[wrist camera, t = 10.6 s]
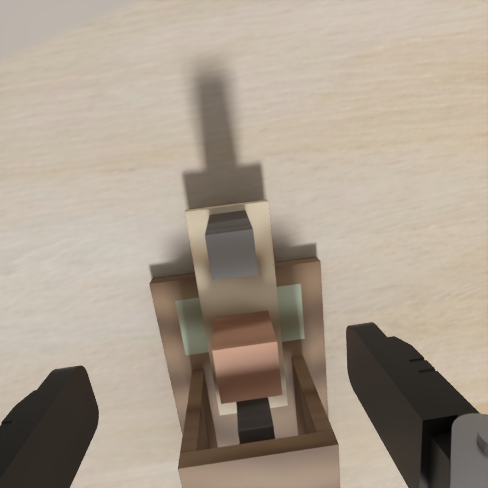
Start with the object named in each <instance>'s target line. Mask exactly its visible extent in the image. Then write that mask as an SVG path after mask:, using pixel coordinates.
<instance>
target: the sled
mask: <svg viewBox="0 0 488 488" xmlns="http://www.w3.org/2000/svg"><path fill="white" fill-rule="evenodd" d="M185 218H186V223H187V229H188V235H189V241H190V246H191V252H192V258H193V264H194V270H195V275H196V281H197V287H198V293H199V299H200V304H201V310H202V316H203V322H204V328H205V333H206V339H207V345H208V351H209V357H210V362H211V368H212V374H213V380H214V385H215V391H216V397H217V403H218V409H219V414H220V416H221V415H228V414H235V413H237V423H238V435H239V441H240V444H245V443H251V442H258V441H264V440H271V439H275V435H274V426H273V421H272V415H271V410H270V408H275V407H282V406H288V401H287V391H286V380H285V370H284V359H283V349H282V338H281V328H280V317H279V307H278V296H277V286H276V275H275V265H274V254H273V244H272V234H271V223H270V213H269V202H268V200H260V201H252V202H244V203H236V204H229V205H221V206H213V207H205V208H197V209H189V210H186V211H185Z"/></svg>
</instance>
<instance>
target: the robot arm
mask: <svg viewBox="0 0 488 488" xmlns="http://www.w3.org/2000/svg"><path fill="white" fill-rule="evenodd" d="M346 341H347V368H348V375H349V379H350V382H351V385H352V388H353V390H354V392H355V394H356V395H357V397H358V399H359V401H360V402H361V404H362V406H363V408H364V410H365V411H366V413H367V415H368V417H369V418H370V420H371V422H372V424H373V425H374V427H375V429H376V431H377V433H378V434H379V436H380V438H381V440H382V441H383V443H384V445H385V447H386V448H387V450H388V452H389V454H390V456H391V457H392V459H393V461H394V463H395V464H396V466H397V468H398V470H399V472H400V473H401V475H402V477H403V479H404V480H405V482H406V484H407V486H408V487H409V488H488V415H486V414H480V413H479V412H478V411H477V410H476V409H475V408H474V407H473V406H472V405H471V404H470V403H469V402H468V401H467V400H466V399H465V398H464V397H463V396H462V395H461V394H460V393H459V392H458V391H457V390H456V389H455V388H454V387H453V386H452V385H451V384H450V383H449V382H448V381H447V380H446V379H445V378H444V377H443V376H442V375H441V374H440V373H439V372H438V371H435V368H434V367H433V366H432V365H431V364H430V363H429V362H428V361H427V360H424V357H423V356H422V355H421V354H420V353H419V352H418V351H417V350H416V349H415V348H414V347H413V346H412V345H410V344H408V343H406V342H404V341H402V340H401V339H399V338H397V337H395V336H393V337H387V336H386V335H385V334H384V333H383V332H382V331H381V330H380V329H379V328H378V327H377V325H376V324H374V323H373V322H370V323H364V324H357V325H351V326H348V327H347V329H346ZM98 419H99V410H98V405H97V402H96V399H95V396H94V393H93V390H92V386H91V383H90V380H89V377H88V374H87V371H86V369H85V368H84V367H83V366H74V367H68V368H61V369H55V370H53V371H52V372H51V373H50V374H49V375H48V376H47V378H46V379H45V380H44V382H43V383H42V384H41V385H40V387H39V388H38V389H37V390H35V391H33V392H32V393H30V394H29V395H28V396H27V397H25V398H24V399H23V400H22V401H21V402H19V403H18V404H17V405H16V406H15V407H14V408H13V409H12V410H11V411H10V413H9V414H8V415H7V416H6V418H5V419H4V420H3V421H2V422H1V423H2V424H1V426H0V488H70V486H71V484H72V482H73V480H74V477H75V475H76V473H77V471H78V469H79V466H80V464H81V462H82V460H83V458H84V455H85V453H86V451H87V449H88V447H89V444H90V442H91V440H92V438H93V436H94V433H95V431H96V429H97V425H98Z"/></svg>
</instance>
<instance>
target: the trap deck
mask: <svg viewBox="0 0 488 488" xmlns="http://www.w3.org/2000/svg"><path fill="white" fill-rule="evenodd" d="M274 265H275V275H276V286H277V296H278V307H279V317H280V328H281V338H282V349H283V359H284V370H285V380H286V391H287V401H288V406H282V407H275V408H270V410H271V415H272V421H273V426H274V435H275V439H271V440H264V441H258V442H251V443H245V444H240V441H239V435H238V423H237V413H235V414H228V415H221V416H220V414H219V409H218V403H217V397H216V391H215V385H214V380H213V374H212V368H211V362H210V357H209V351H208V345H207V339H206V333H205V328H204V322H203V316H202V310H201V304H200V299H199V293H198V287H197V281H196V275H195V273H194V274H186V275H179V276H171V277H164V278H156V279H152V280H151V282H150V289H151V293H152V298H153V302H154V307H155V311H156V316H157V321H158V325H159V330H160V334H161V339H162V343H163V348H164V353H165V357H166V362H167V366H168V371H169V375H170V380H171V385H172V389H173V394H174V398H175V403H176V407H177V412H178V417H179V421H180V426H181V430H182V435H183V437H182V444H181V451H180V458H179V465H178V471H179V476H180V480H181V484H182V488H340V468H339V445H338V442H337V440H336V437H335V435H334V432H333V430H332V427H331V425H330V422H329V420H328V400H327V381H326V362H325V342H324V323H323V304H322V284H321V265H320V260H319V259H318V258H317V257H314V258H306V259H299V260H291V261H284V262H276V263H274Z"/></svg>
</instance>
